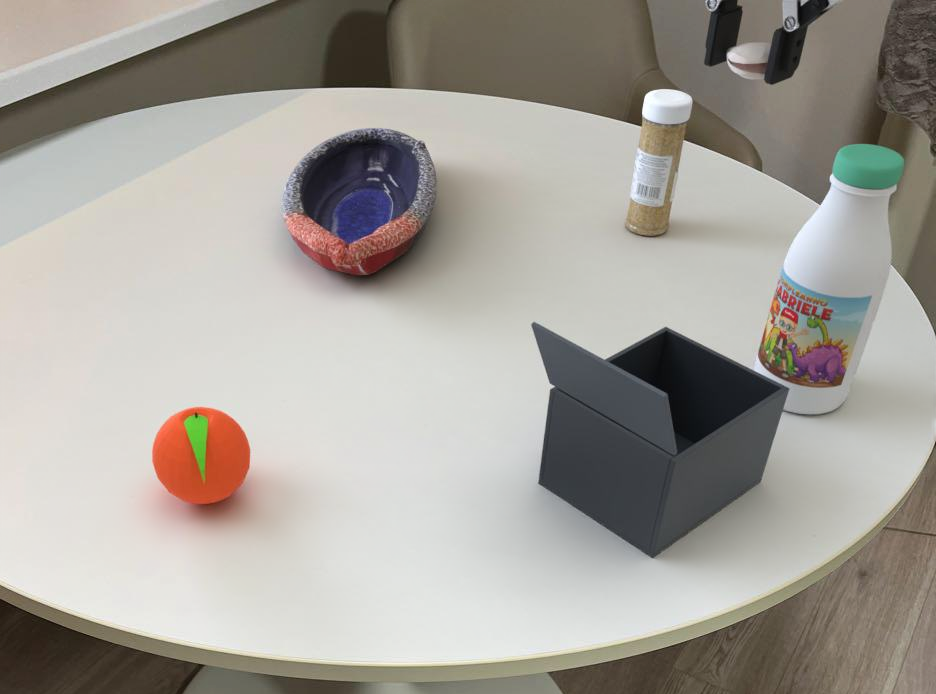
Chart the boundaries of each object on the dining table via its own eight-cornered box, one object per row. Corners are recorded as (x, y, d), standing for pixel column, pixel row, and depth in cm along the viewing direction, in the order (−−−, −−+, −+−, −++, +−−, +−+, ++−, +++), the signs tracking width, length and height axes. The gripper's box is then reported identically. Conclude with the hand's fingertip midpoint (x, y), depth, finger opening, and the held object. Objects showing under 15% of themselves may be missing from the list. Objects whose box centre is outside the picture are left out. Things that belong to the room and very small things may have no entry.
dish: (448, 167, 121) (450, 123, 117) (417, 302, 98) (418, 252, 95) (315, 159, 122) (313, 115, 119) (254, 290, 100) (249, 240, 96)
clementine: (261, 526, 75) (253, 446, 70) (162, 540, 74) (147, 459, 69) (249, 458, 81) (240, 380, 76) (157, 470, 79) (142, 391, 75)
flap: (677, 452, 67) (674, 456, 67) (552, 380, 73) (549, 383, 73) (667, 393, 62) (664, 397, 61) (533, 321, 67) (530, 324, 67)
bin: (652, 558, 73) (675, 462, 67) (537, 483, 79) (549, 389, 73) (760, 481, 79) (789, 388, 73) (646, 417, 85) (665, 326, 79)
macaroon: (749, 88, 82) (756, 54, 81) (705, 70, 86) (711, 37, 84) (789, 78, 84) (797, 45, 82) (744, 61, 87) (751, 28, 85)
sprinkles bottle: (676, 227, 110) (703, 96, 101) (650, 241, 108) (675, 108, 98) (640, 213, 112) (663, 83, 103) (614, 227, 110) (635, 95, 101)
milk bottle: (780, 355, 92) (848, 124, 79) (862, 391, 88) (949, 154, 74) (732, 389, 88) (794, 153, 74) (816, 429, 84) (898, 186, 70)
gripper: (949, -198, 69) (869, 87, 81) (733, -221, 79) (690, 37, 91) (888, -186, 66) (814, 111, 78) (670, -211, 75) (634, 56, 88)
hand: (748, 68), depth 84 cm, fingers closed on macaroon, 5 cm apart
